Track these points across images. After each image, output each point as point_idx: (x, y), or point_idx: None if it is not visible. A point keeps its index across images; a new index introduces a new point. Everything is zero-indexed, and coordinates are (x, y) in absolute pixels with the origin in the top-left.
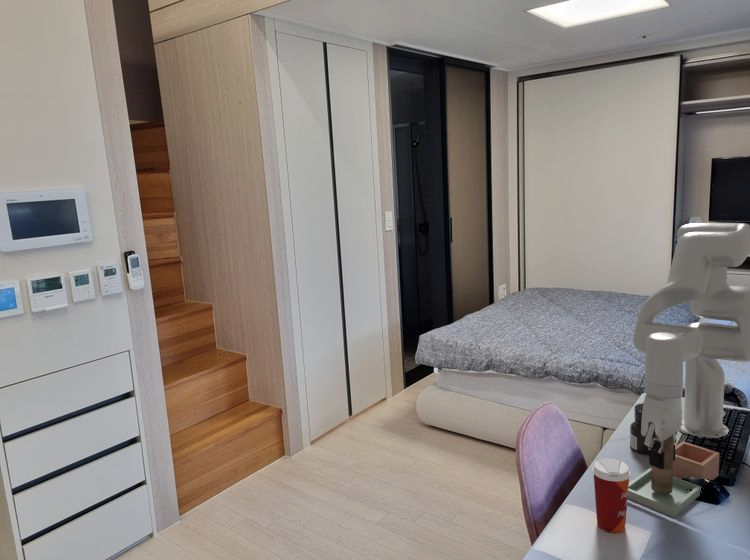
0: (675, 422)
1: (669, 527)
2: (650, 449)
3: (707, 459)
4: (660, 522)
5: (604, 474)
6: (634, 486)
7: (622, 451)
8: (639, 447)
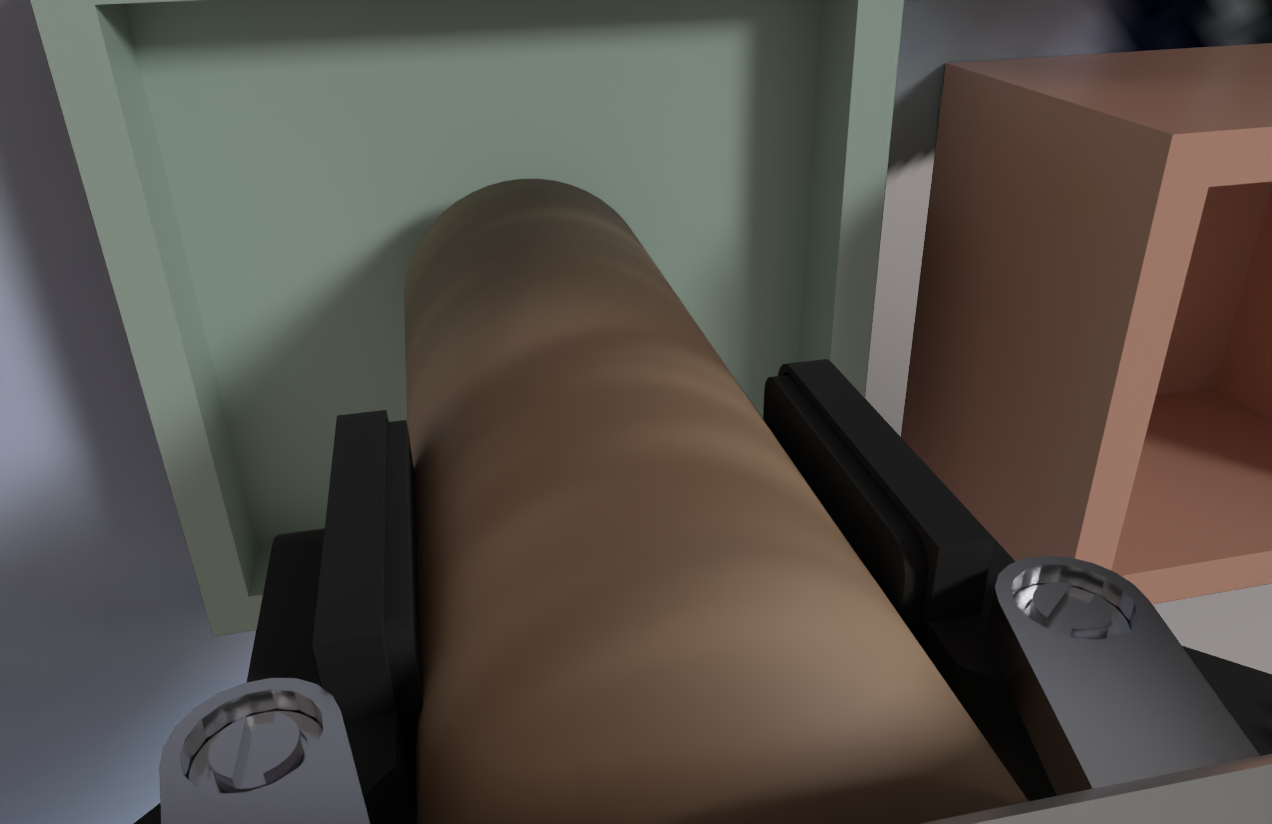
0: None
1: (65, 610)
2: (147, 820)
3: (1237, 567)
4: (54, 525)
5: None
6: None
7: None
8: None
